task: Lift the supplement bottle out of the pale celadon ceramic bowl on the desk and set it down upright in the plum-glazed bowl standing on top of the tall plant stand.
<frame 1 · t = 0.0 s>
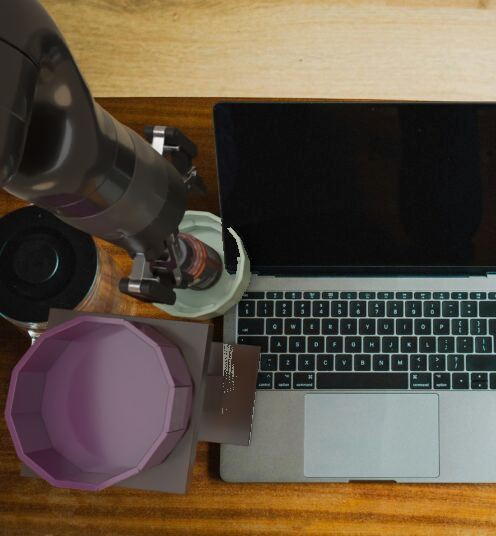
hand: (190, 235, 60), 21 cm above the table, tool pointing down, fingers open, 8 cm apart
plant stand: (208, 390, 79), on the table
plum bowl: (115, 398, 53), resting on plant stand
supplement bottle: (201, 268, 81), resting on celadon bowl
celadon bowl: (202, 269, 81), on the table
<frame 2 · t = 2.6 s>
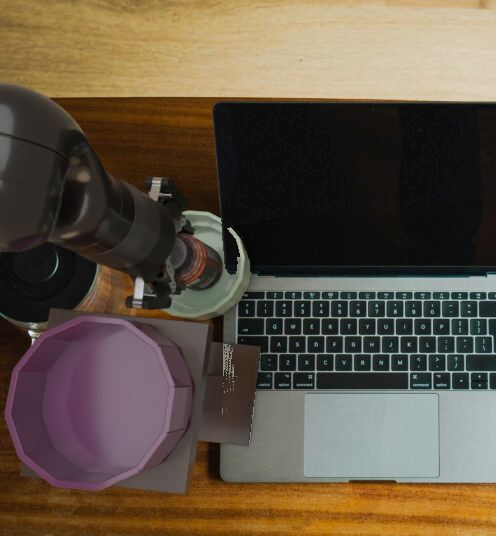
hand: (182, 259, 74), 8 cm above the table, tool pointing down, fingers closed on supplement bottle, 6 cm apart
supplement bottle: (201, 268, 81), resting on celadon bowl, touching gripper
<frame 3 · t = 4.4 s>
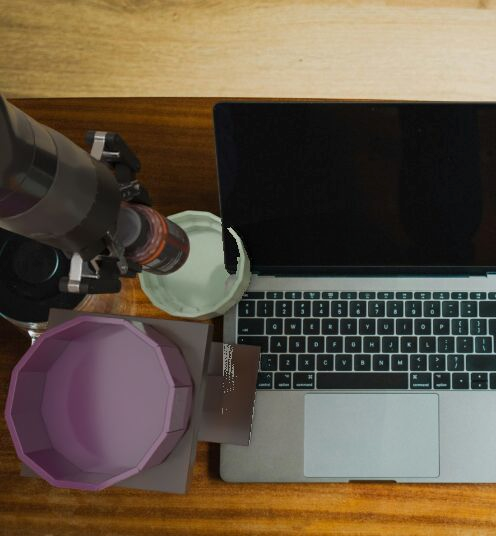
hand: (137, 236, 62), 20 cm above the table, tool pointing down, fingers closed on supplement bottle, 6 cm apart
supplement bottle: (165, 249, 69), point 13 cm above the table, touching gripper
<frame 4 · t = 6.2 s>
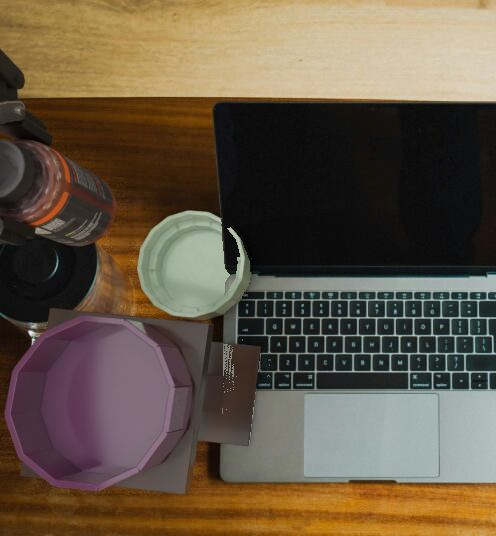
hand: (30, 186, 44), 38 cm above the table, tool pointing down, fingers closed on supplement bottle, 6 cm apart
supplement bottle: (84, 212, 51), point 31 cm above the table, touching gripper
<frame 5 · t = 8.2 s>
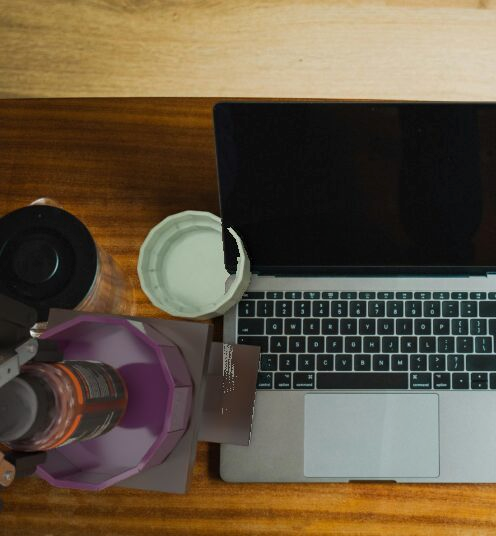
hand: (41, 405, 42), 37 cm above the table, tool pointing down, fingers closed on supplement bottle, 6 cm apart
supplement bottle: (94, 399, 50), point 30 cm above the table, touching gripper
when the fingers open (34 cm above the table, at t = 9.8 s): supplement bottle stays where it is, resting on plum bowl.
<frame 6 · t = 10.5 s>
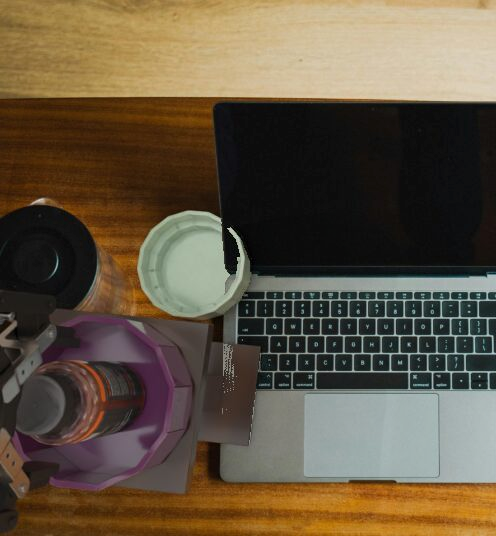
hand: (57, 404, 44), 35 cm above the table, tool pointing down, fingers open, 8 cm apart
supplement bottle: (114, 397, 53), point 26 cm above the table, touching plum bowl
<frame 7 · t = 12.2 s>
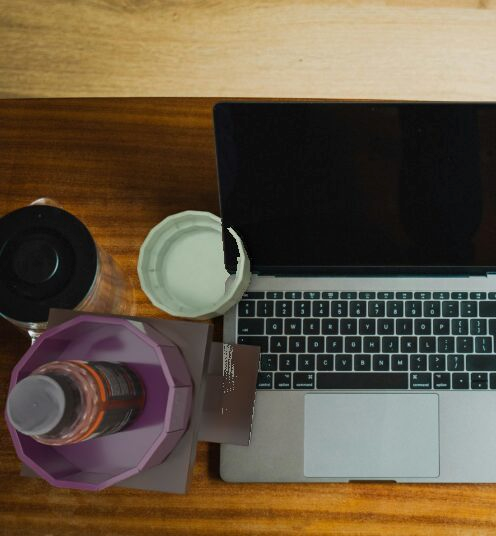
nothing on the table moved.
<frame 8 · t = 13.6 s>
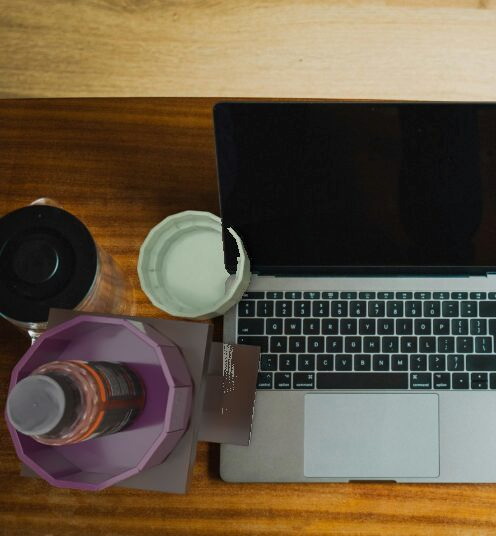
nothing on the table moved.
at the end: supplement bottle 0.1 cm off-centre on the plum bowl, point 0.2 cm above the plum bowl's base; supplement bottle tilted 0°; the gripper is holding nothing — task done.
